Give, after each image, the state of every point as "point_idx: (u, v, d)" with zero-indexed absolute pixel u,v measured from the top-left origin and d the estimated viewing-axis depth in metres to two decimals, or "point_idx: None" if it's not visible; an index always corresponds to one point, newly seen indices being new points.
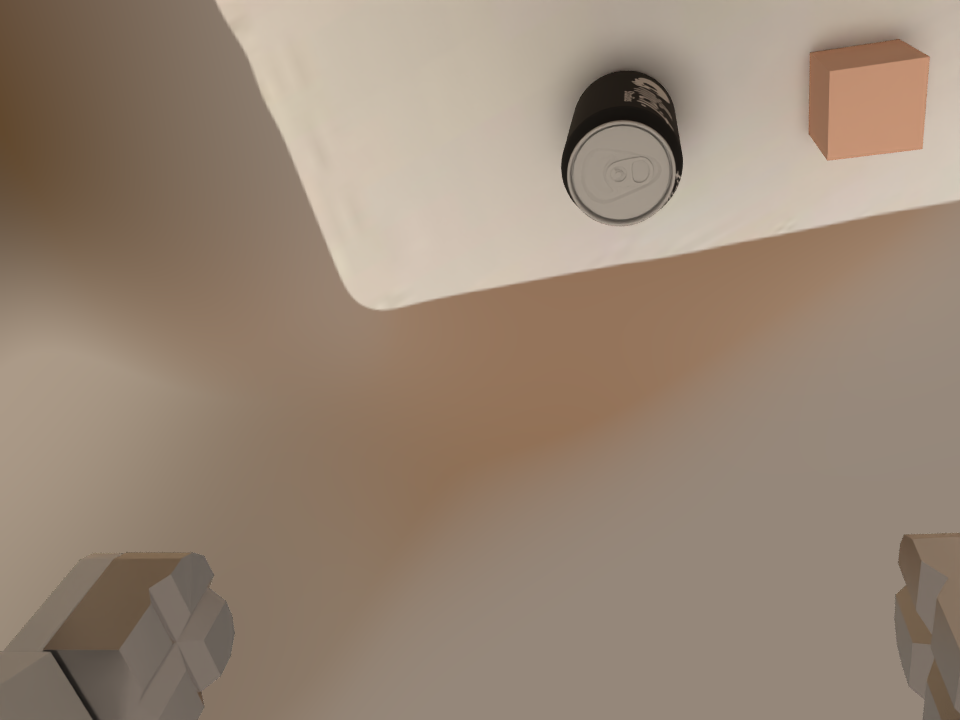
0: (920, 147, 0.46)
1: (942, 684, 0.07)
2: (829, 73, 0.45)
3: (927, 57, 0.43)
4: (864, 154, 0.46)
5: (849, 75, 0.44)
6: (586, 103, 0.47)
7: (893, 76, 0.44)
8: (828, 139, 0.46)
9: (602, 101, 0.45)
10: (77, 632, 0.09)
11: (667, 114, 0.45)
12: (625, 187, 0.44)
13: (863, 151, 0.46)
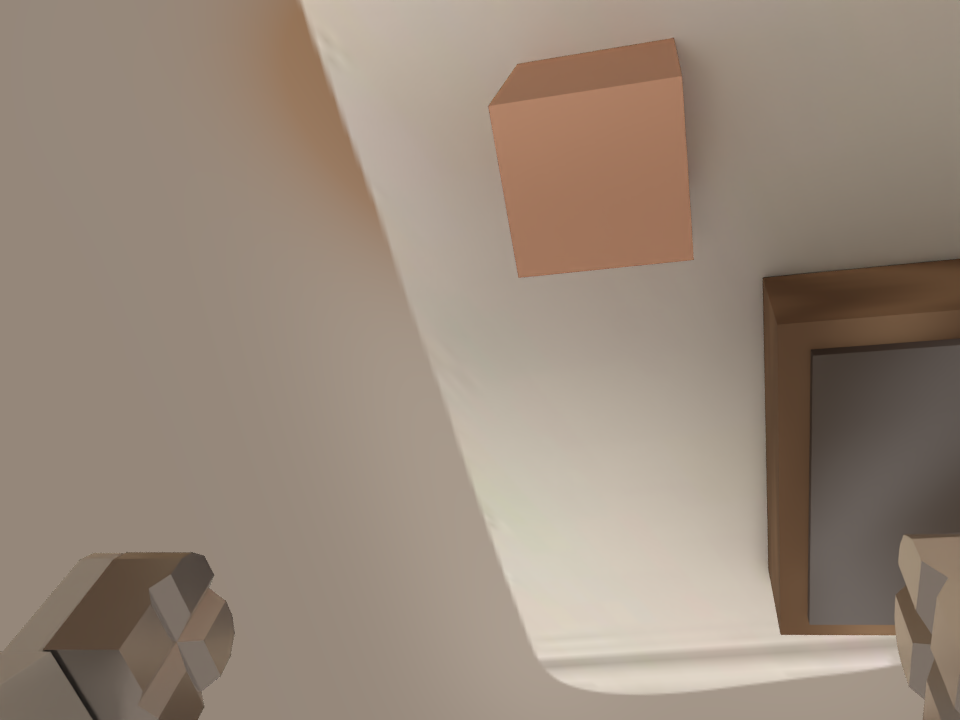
0: (521, 274, 0.24)
1: (942, 684, 0.07)
2: (676, 76, 0.20)
3: (692, 256, 0.23)
4: (503, 177, 0.22)
5: (670, 118, 0.21)
6: None
7: (661, 203, 0.22)
8: (533, 100, 0.21)
9: None
10: (76, 631, 0.09)
11: None
12: None
13: (510, 174, 0.22)
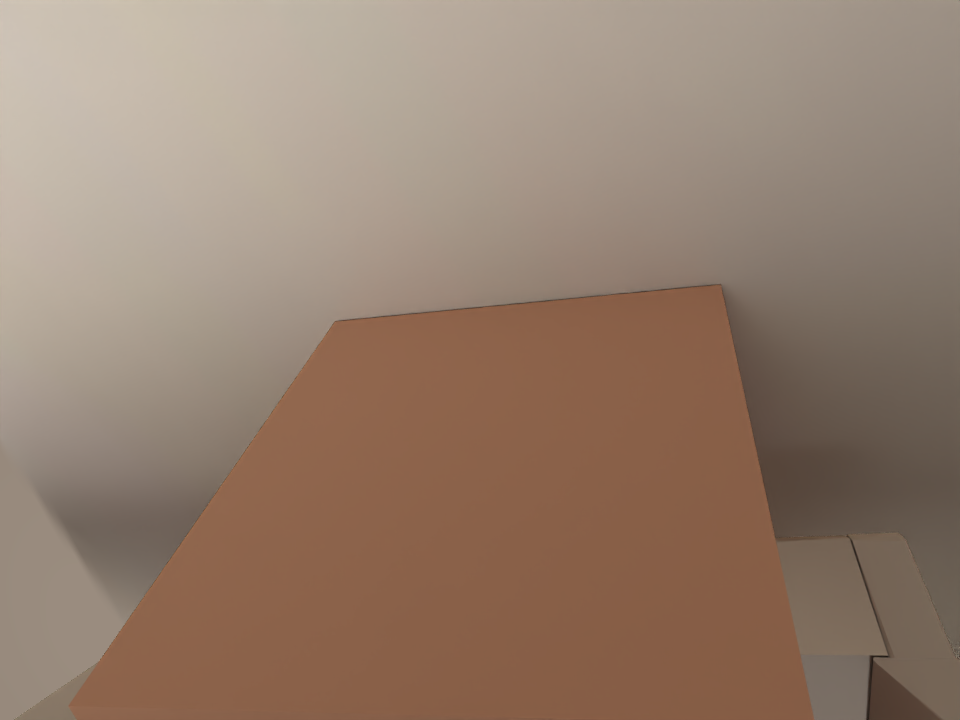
0: None
1: None
2: (785, 707, 0.05)
3: None
4: None
5: None
6: None
7: None
8: (224, 708, 0.06)
9: None
10: None
11: None
12: None
13: None
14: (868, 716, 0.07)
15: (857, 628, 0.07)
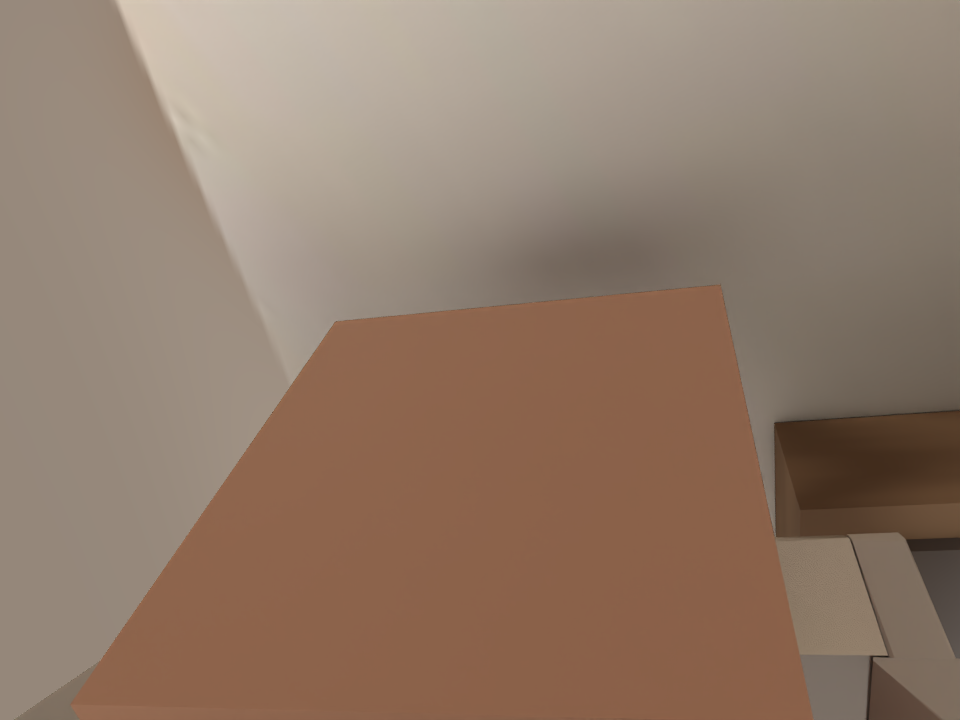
0: None
1: None
2: (784, 705, 0.05)
3: None
4: None
5: None
6: None
7: None
8: (226, 706, 0.06)
9: None
10: None
11: None
12: None
13: None
14: (868, 716, 0.07)
15: (857, 628, 0.07)
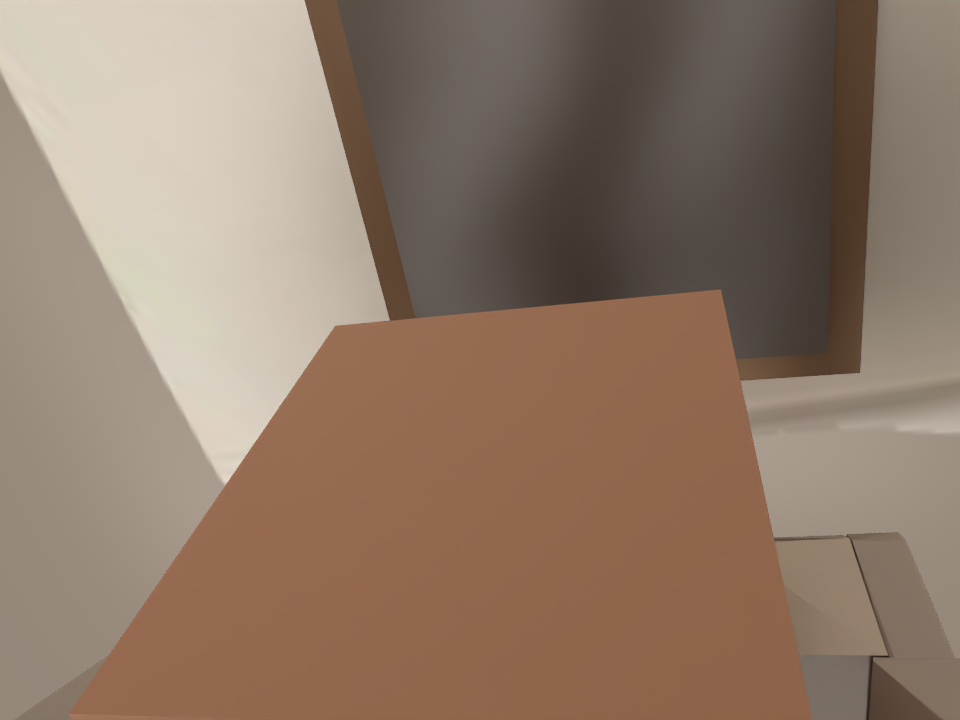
0: None
1: None
2: (785, 716, 0.05)
3: None
4: None
5: None
6: None
7: None
8: (225, 716, 0.06)
9: None
10: None
11: None
12: None
13: None
14: (868, 716, 0.07)
15: (857, 628, 0.07)
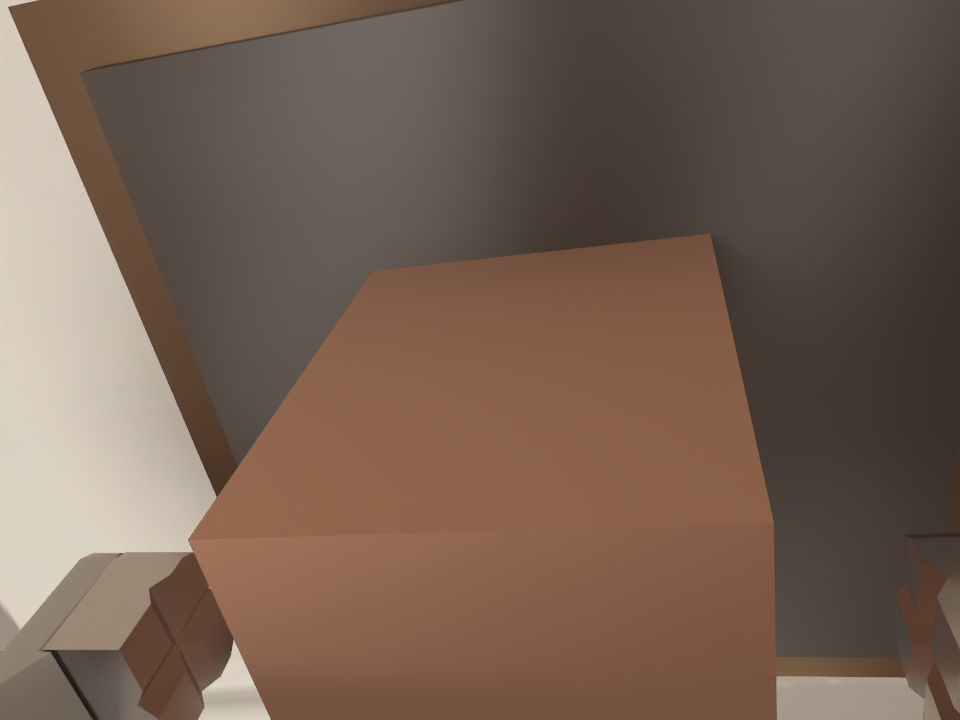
0: None
1: (942, 684, 0.07)
2: (752, 513, 0.06)
3: None
4: (262, 687, 0.08)
5: (728, 617, 0.07)
6: None
7: None
8: (314, 536, 0.07)
9: None
10: (78, 632, 0.09)
11: None
12: None
13: (279, 685, 0.08)
14: None
15: None
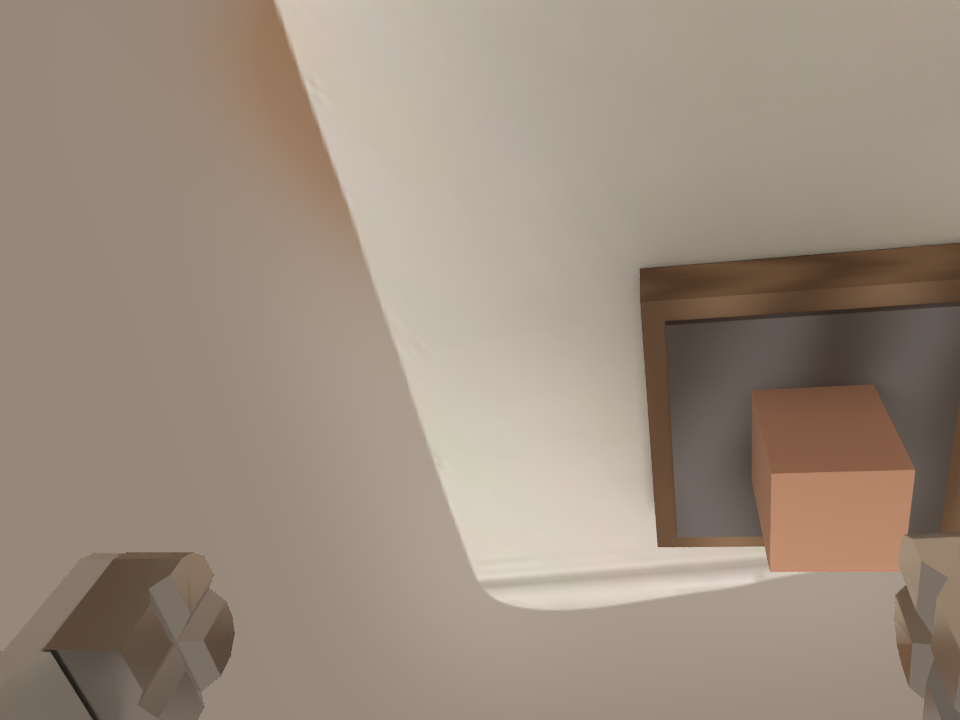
0: (772, 569, 0.33)
1: (942, 684, 0.07)
2: (910, 468, 0.30)
3: None
4: (772, 513, 0.32)
5: (902, 491, 0.30)
6: None
7: (886, 538, 0.31)
8: (805, 472, 0.30)
9: None
10: (77, 631, 0.09)
11: None
12: None
13: (778, 512, 0.31)
14: None
15: None
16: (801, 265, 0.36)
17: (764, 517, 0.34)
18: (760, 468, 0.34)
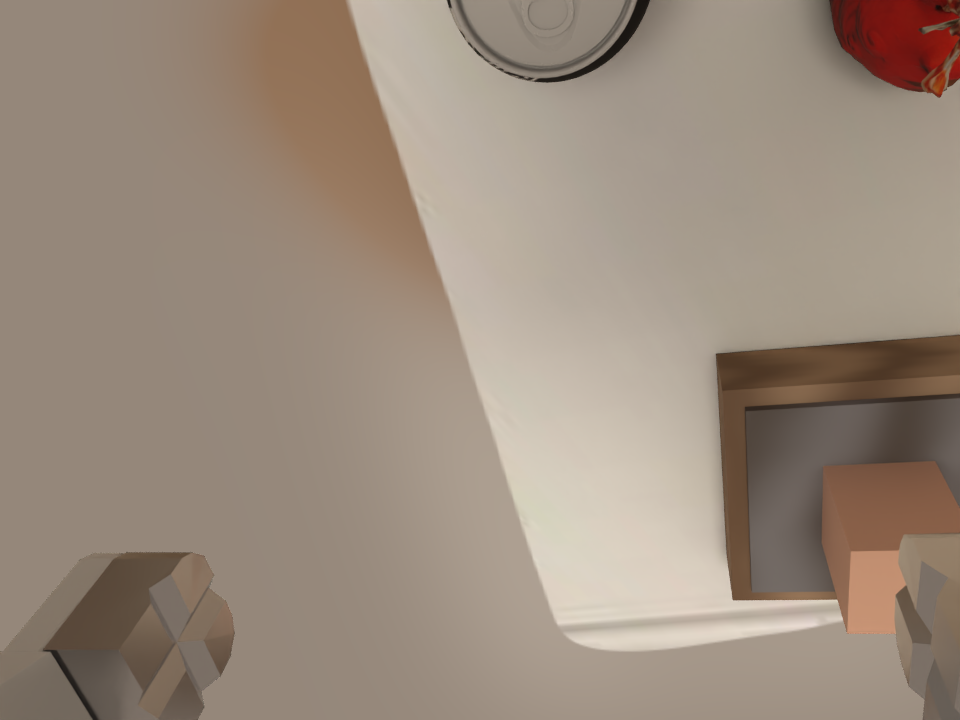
0: (849, 632, 0.37)
1: (942, 684, 0.07)
2: None
3: None
4: (850, 585, 0.36)
5: None
6: None
7: None
8: (881, 550, 0.34)
9: None
10: (78, 632, 0.09)
11: None
12: None
13: (856, 584, 0.35)
14: None
15: None
16: (866, 353, 0.40)
17: (840, 584, 0.38)
18: (835, 539, 0.38)
